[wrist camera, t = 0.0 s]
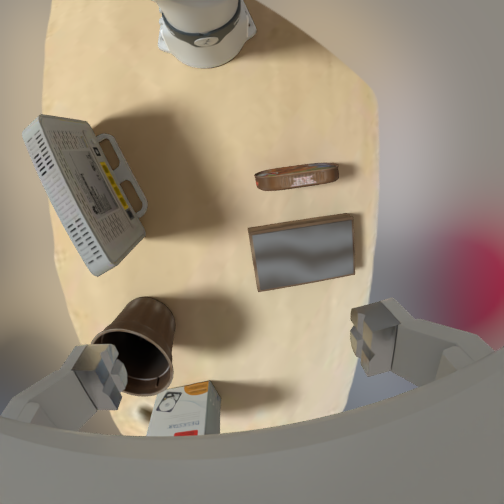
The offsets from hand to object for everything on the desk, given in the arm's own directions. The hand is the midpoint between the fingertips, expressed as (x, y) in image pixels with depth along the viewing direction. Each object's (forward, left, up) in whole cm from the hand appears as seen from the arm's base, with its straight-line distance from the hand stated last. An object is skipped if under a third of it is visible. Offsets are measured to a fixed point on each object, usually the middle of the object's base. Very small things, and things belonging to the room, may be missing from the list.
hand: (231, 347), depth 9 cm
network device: (-6, -23, -48) cm, 54 cm away
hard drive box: (+49, -20, -48) cm, 72 cm away
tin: (-1, +12, -48) cm, 50 cm away
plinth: (+14, +12, -48) cm, 52 cm away
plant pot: (+25, -23, -48) cm, 59 cm away
